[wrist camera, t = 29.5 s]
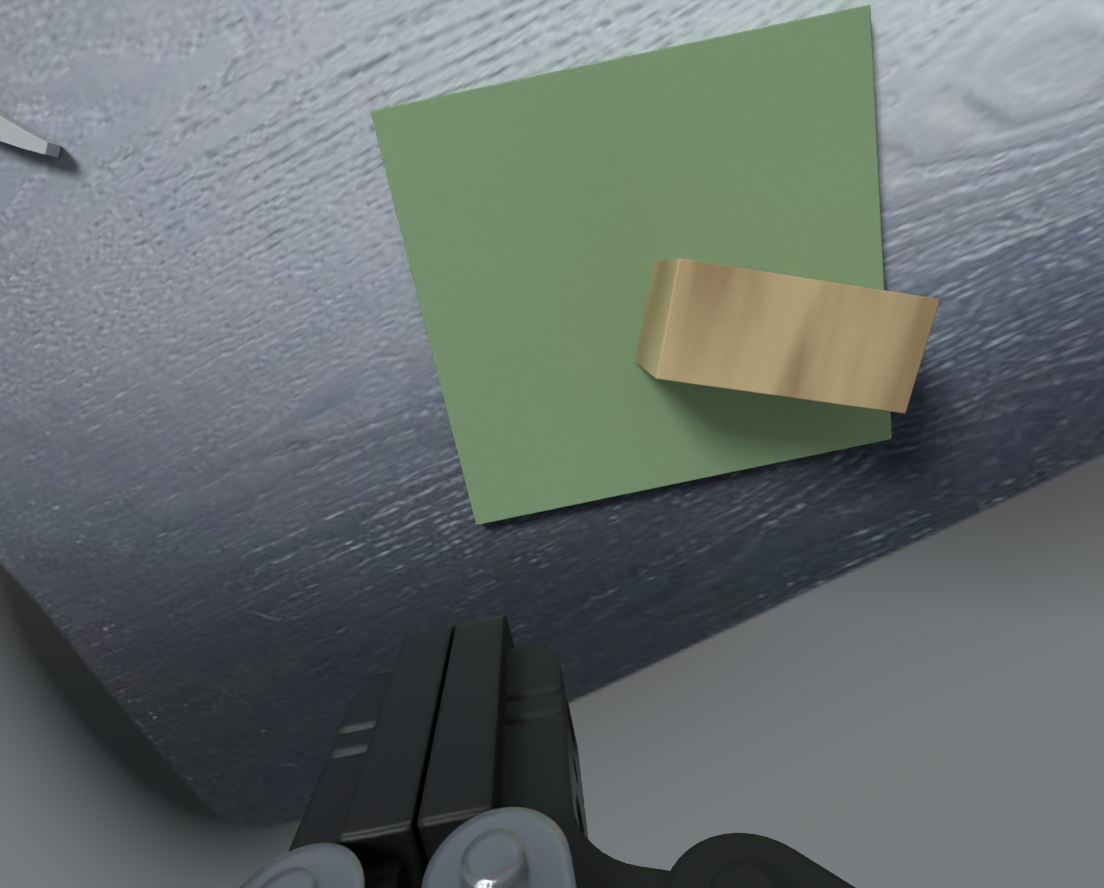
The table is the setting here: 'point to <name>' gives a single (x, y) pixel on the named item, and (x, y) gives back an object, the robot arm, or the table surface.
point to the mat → (631, 251)
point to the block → (783, 335)
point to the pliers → (25, 137)
